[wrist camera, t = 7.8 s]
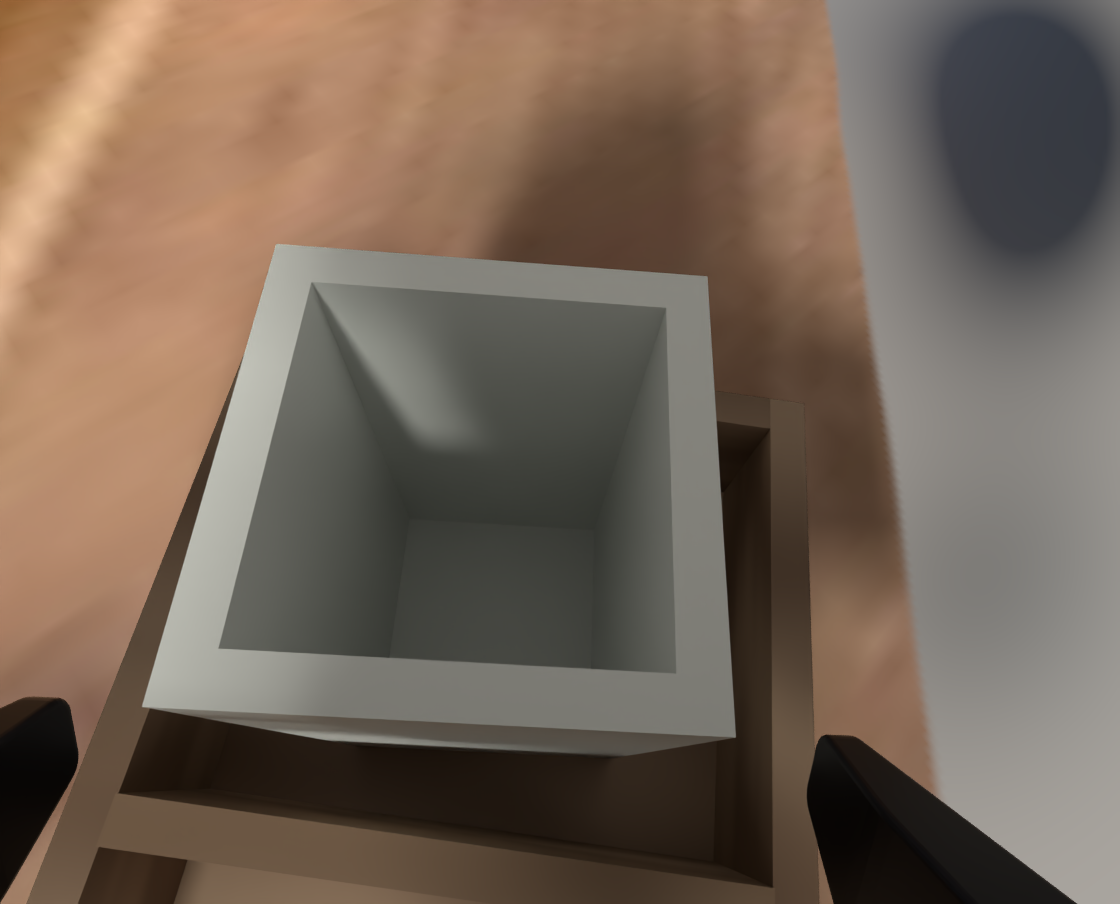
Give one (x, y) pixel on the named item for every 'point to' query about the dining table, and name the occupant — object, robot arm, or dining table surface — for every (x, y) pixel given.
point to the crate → (474, 766)
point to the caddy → (462, 514)
